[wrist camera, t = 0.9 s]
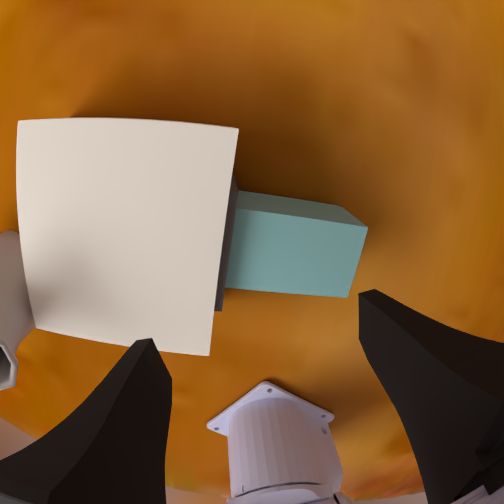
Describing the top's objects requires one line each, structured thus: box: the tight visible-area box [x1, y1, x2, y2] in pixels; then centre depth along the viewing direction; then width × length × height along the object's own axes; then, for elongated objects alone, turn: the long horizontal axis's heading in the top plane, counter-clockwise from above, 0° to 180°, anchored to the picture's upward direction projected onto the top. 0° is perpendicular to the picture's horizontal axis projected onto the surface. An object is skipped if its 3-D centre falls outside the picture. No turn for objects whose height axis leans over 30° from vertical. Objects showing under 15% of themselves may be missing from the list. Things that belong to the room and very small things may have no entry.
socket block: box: [16, 117, 239, 356], centre depth 15 cm, size 10×11×6 cm
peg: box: [225, 190, 368, 298], centre depth 17 cm, size 8×4×4 cm, turn 81°
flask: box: [0, 230, 36, 390], centre depth 13 cm, size 7×7×10 cm
